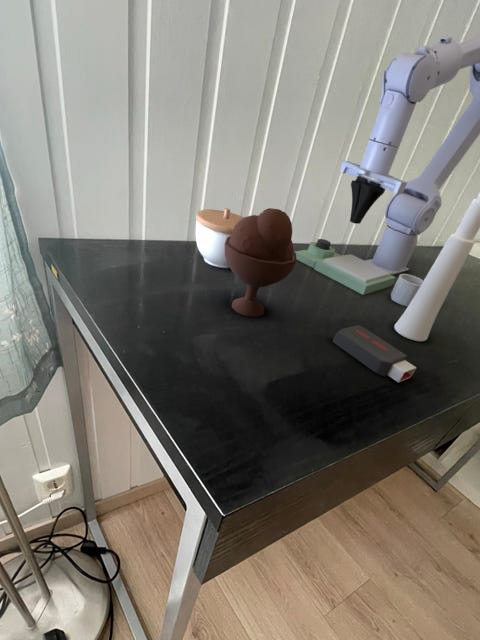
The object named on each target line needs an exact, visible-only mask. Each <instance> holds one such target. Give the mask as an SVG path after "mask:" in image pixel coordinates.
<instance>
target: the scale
mask: <svg viewBox="0 0 480 640" xmlns="http://www.w3.org/2000/svg"><path fill="white" fill-rule="evenodd" d="M313 270H314V271H316V272H318V273H320V274H322V275H324V276H326V277H328V278H330V279H331V280H333V281H335V282H338V283H339V284H340V285H343V286H345V287H347V288H348V289H351V290H353V291H355V292H356V293H358V294H361V295H362V296H364V295H368V294H371V293H374V292H377V291H380V290H383V289H386V288H390V287H392V286H394V285H393V284H394V282H395V280H396V276H394V275H391V273H389V272H387V271H385V270H383V269H381V268H379V267H377V266H375V265H372V264H370V263H368V262H366V261H365V260H364V259H361V258H360V257H358V256H356V255H354V254H351V253H350V254H343V255H342V256H337V257H332V258H326V259H322V260H317V261H316V264H315V267H314V268H313Z"/></svg>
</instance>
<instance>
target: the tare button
mask: <svg viewBox="0 0 480 640" xmlns="http://www.w3.org/2000/svg"><path fill="white" fill-rule="evenodd" d="M316 242H317V244H316V247H318V248H320V249H324V250H329V247H330V246H331V241H329V240H327V239H324V238H318V239H317V241H316Z"/></svg>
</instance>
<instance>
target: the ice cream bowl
mask: <svg viewBox="0 0 480 640" xmlns="http://www.w3.org/2000/svg"><path fill="white" fill-rule="evenodd" d="M243 217H244V218H243V219H241V220H240V221H238V223H237V224H236V225H235V226H234V229H233V232H232V235H231V236H230V237H227V239H226V241H225V257H226V261H227V264H228V266H229V267H230V268H229V269H230V270H231V272H232V273H233V274H234V275H235V276H236V277H237V278H238V280H240V281H241V282H242V283H244V284H245V285H246V291H245V296H242V297H238V298H235V299H234V300H233V301H232V303H231V308H232V309H233V310H234V311H235V312H236V313H237V314H240V315H242V316H246V317H256V318H258V317H261V316H263V315H265V314H264V313H265V306H264V305H263V304H262V303H261V302H259V300H258V299H257V294H258V291H259V289H260V288H264V287H268V286H272V285H274V284H278V283H279V282H281V281H283V280H284V279H286V278H287V277H288V276H289V275H290V274H291V272H292V271H293V269H294V267H295V265H296V264H297V261H298V260H297V259H296V253H295V251H294V243H293V240H292V237H293V223H292V220H291V218H290V217H289V215H288V214H287V213H286V212H285V211H283V210H281V209H279V208H273V207H272V208H271V207H269V208H265V209H264V210H263V211H262V212H260V213H259V215H258V214H257V215H256V214H251V215H249V216H248V215H247V216H243Z"/></svg>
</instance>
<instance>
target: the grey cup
mask: <svg viewBox="0 0 480 640" xmlns="http://www.w3.org/2000/svg"><path fill="white" fill-rule="evenodd" d="M423 281H424V279H422V278H420V277H418V276H416V275H413V274H407V273H399V276H398V277H397V279H396V282H395V284H394V285H393V288H392V289H391V292H390V299H391V300H392V301H393V302H395V303H396V304H398V305H400V306H404V307H406V308H407V307H408V306H409V304H410V303H411V301H412V299H413V298H414V296H415V295H416V293H417V291H418V290H419V288H420V286H421V285H422V283H423Z"/></svg>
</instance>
